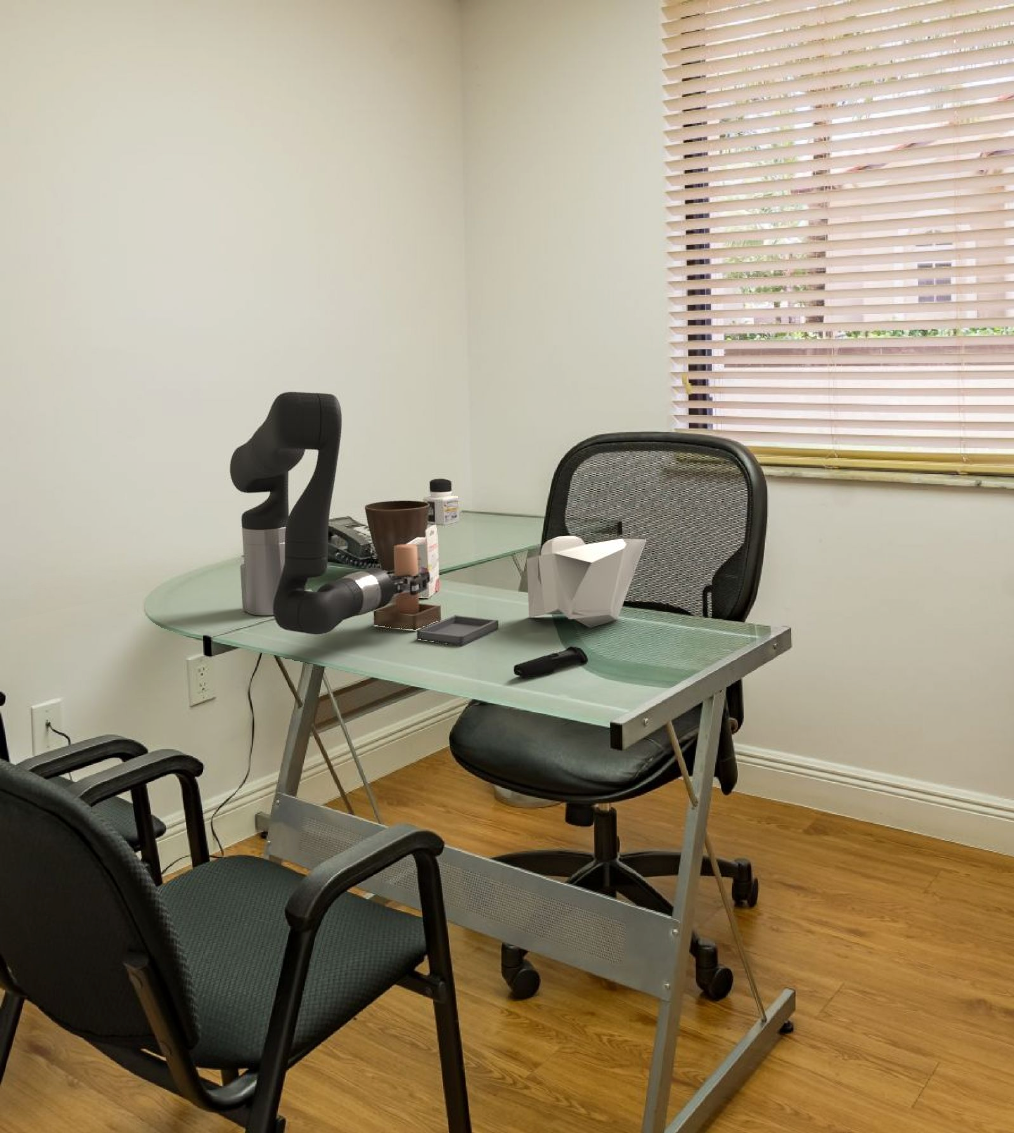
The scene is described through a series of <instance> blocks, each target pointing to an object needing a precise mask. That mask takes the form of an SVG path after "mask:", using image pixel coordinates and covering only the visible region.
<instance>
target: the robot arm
mask: <svg viewBox="0 0 1014 1133" xmlns="http://www.w3.org/2000/svg"><path fill="white" fill-rule="evenodd" d="M342 419H343V418H342V408H341V404H340V400H339V399H338V398H337V396H335V395H334V394H331V393H321V392H305V391H303V392H301V391H286V392H283V393H280V394H278V395H277V396H276V398H274V400H273V402H272V404H271V406H270V409H269V411H268V414H267V416H266V418H265V420H264V422H262V424H261V425H260V426H259V427H258V428H257V429H256V431H255V432H254V433H253V435H252V436H251V437H250V438H249V439H248V440H247V441H246V442H245V443H244V444H242V445H240V446H238V447H237V448H236V449H234V452H232V453H233V454H231V458H230V462H229V474H230V479H231V482H232V485H233V486H234V488H236V489H237V491H239V492H241V493H245V494H254V493H255V494H256V493H258V494H259V493H269V496H268V497H267V498H266V499H265V500H264V501H262V502H261V503H260V504H259V505H256V506H255V507H252V508H250V509H248V510H246V511H244V512H243V513H242V514H241V519H240V520H241V534H242V535H241V536H242V537H241V538H242V552H243V563H241V564H240V566H239V569H240V570H239V571H240V584H241V585H240V586H241V601H242V605H241V607H242V611H243V612H247V613H248V614H249V615H252V616H253V615H256V616H273V617H274V621H275V622H276V624H277V625H278V626H279V628H281V629H282V630H286V631H289V632H295V633H302V634H308V635H309V634H310V635H324V634H327V633H329V632H332V631H333V630H334V629H335V628H337V627H338V625H339V624H341V623H342V622H343V621H345V620H347V619H350V618H352V617H356V616H357V617H358V616H363V615H365V614H368V613H370V612H374V611H375V610H378V609H380V608H383V607H386V606H388V605H389V604H390V602H391V601H392V599H393V598H394V597H395V596H397V595H398V594H401V593H407V592H410V595H416V594H418V593H420V592H422V591H424V590H426V589H427V583H429V582H430V574H429V572H428V571H424V572H421V573H418V574H414V575H410V574H407V573H403V574H397V575H395V569H393V570H390V571H385V570H384V571H383V569H382V568H379V567H369V568H365V569H363V570H359V571H356V572H352V573H349V574H347V575H345V576H343V577H341V578H339V579H334V580H332V581H329V582H327V583H325V584H322V586H320V587H319V588H318V589H317V591H311V590H305V589H306V585H307V583H308V580H309V579H310V578H319V577H321V576H323V575H325V573H326V571H327V570H328V555H329V554H328V552H329V524H330V523H329V522H330V512H331V506H332V505H331V504H332V500H333V492H334V488H335V486H334V485H335V481H336V474H337V469H338V468H337V467H338V461H339V460H338V459H339V453H340V445H341V438H342V427H343V426H342V425H343V421H342ZM306 450H314V451H317V460H316V464H315V467H314V471H313V474H312V476H311V478H310V480H309V482H308V484H307V485H306V487H305V489H304V490H303V492H302V494H301V495H300V496H299V498H298V500H297V501H296V503H295V504H294V506H293V508H292V509H291V511H290V509H289V508H290V507H289V506H290V505H289V472H290V471H291V470H293V469H294V468H295V467H296V466H297V465H298V464H299V463H300V462H301V460H303V457H304V455H305V452H306ZM402 578H404V582H403V579H402ZM413 578H414V579H413ZM411 579H413V580H411Z"/></svg>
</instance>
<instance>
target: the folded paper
mask: <svg viewBox="0 0 1014 1133" xmlns="http://www.w3.org/2000/svg"><path fill="white" fill-rule="evenodd" d="M646 542H647V539H644V538H643V539H642V538H641V539H639V538H618V539H613V540H607V541H606V540H605V541H600V542H594V543H588V544H587V543H585V542H584V540H583V539H582V538H580V537H578V536H575V535H565V536H557V537H554V538H552V539H549V540H547V541H546V542H544V544H542V547H541V551H540V555H535V556H531V557H528V558H526V569H527V571H526V572H527V596H528V599H527V600H528V601H527V602H528V618H534V617H539V616H544V615H547V616H548V615H564V616H565V617H566V618H568V620H573V619H574V620H575V621H577V622H579V623H580V624H582V625H584V626H586V627H587V628H589V629H592V628H594V627H597V626H600V625H605V624H608V623H610V622H611V623H612V622H615V621H617V620H618V619H619V616H620V613H621V610H622V607H623V605H624V601H625V600H626V599H625V598H626V597H627V594H628V593H629V592H628V590H629V589H630V586H631V584H632V581H633V578H634V575H635V571H636V569H637V567H638V565H639V564H638V563H639V562H640V558H641V555H642V553H643V551H644V548H645V546H646Z"/></svg>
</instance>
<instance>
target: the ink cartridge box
mask: <svg viewBox="0 0 1014 1133" xmlns="http://www.w3.org/2000/svg"><path fill="white" fill-rule="evenodd" d="M431 533H432V534H431ZM425 534H426V536H425V538H422V537H417V538H415V539H414V540H412V541H411V542H409V543H407V544H411V545H417V557H418V573H421V572H424V571H428V572H429V574H430V582H429V583H427V589H426V590H424V591H422V592H420V593H419V597H421V596H422V597H430V596H431V595H433V593H435V592H436V591H437V590H439V591H440V569H439V568H440V567H439V566H440V564H439V536H438V530H437V524H432V525H431V526H430V527H427V529H426V530H425ZM435 594H436V593H435ZM433 596H434V595H433Z"/></svg>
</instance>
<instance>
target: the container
mask: <svg viewBox="0 0 1014 1133" xmlns="http://www.w3.org/2000/svg"><path fill="white" fill-rule="evenodd" d="M452 483H453V482H452V480H451V479H449V478H433V479H431V480H429V495H430V496H426V497H423V499H422V500H423V501H422V502H427V503H429V504H430V506H429V516H428V524H427V525H435V524H436V526H437V525H439V526H446V525H450V524H454V523H458V522H459V523H460V508H459V507H460V502H459V500H460V499H459V496H457V495H452V493H453V490H452V488H453V487H452Z"/></svg>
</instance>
